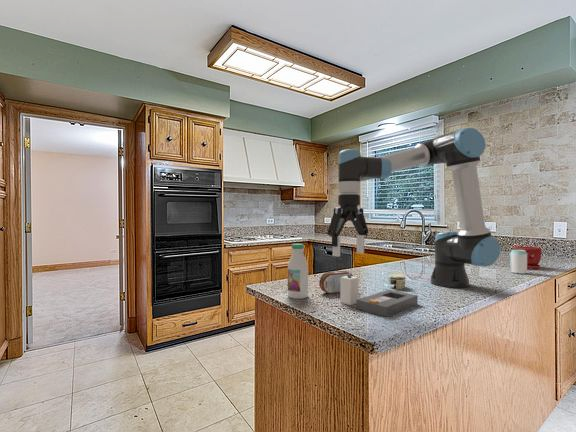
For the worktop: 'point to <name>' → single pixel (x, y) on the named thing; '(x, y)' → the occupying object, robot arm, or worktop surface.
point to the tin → (332, 281)
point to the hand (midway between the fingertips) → (348, 254)
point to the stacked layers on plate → (397, 281)
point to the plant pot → (531, 261)
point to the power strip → (387, 302)
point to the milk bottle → (297, 273)
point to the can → (518, 261)
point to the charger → (348, 289)
